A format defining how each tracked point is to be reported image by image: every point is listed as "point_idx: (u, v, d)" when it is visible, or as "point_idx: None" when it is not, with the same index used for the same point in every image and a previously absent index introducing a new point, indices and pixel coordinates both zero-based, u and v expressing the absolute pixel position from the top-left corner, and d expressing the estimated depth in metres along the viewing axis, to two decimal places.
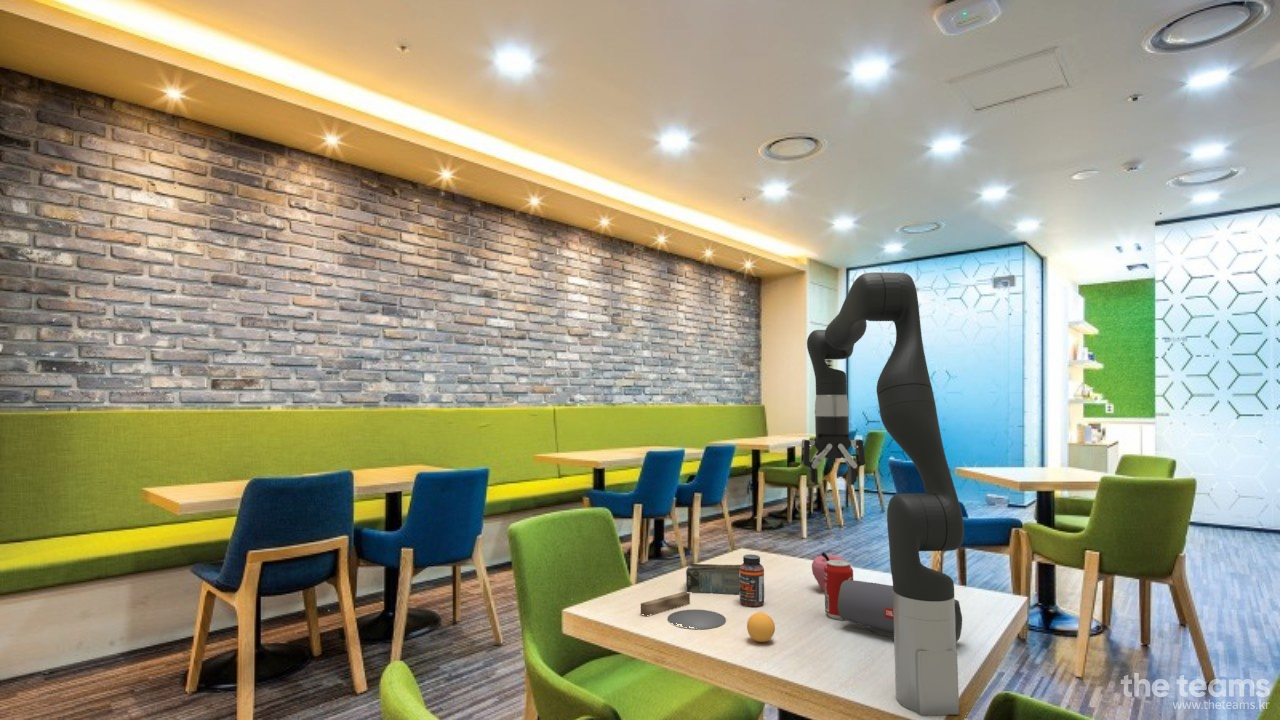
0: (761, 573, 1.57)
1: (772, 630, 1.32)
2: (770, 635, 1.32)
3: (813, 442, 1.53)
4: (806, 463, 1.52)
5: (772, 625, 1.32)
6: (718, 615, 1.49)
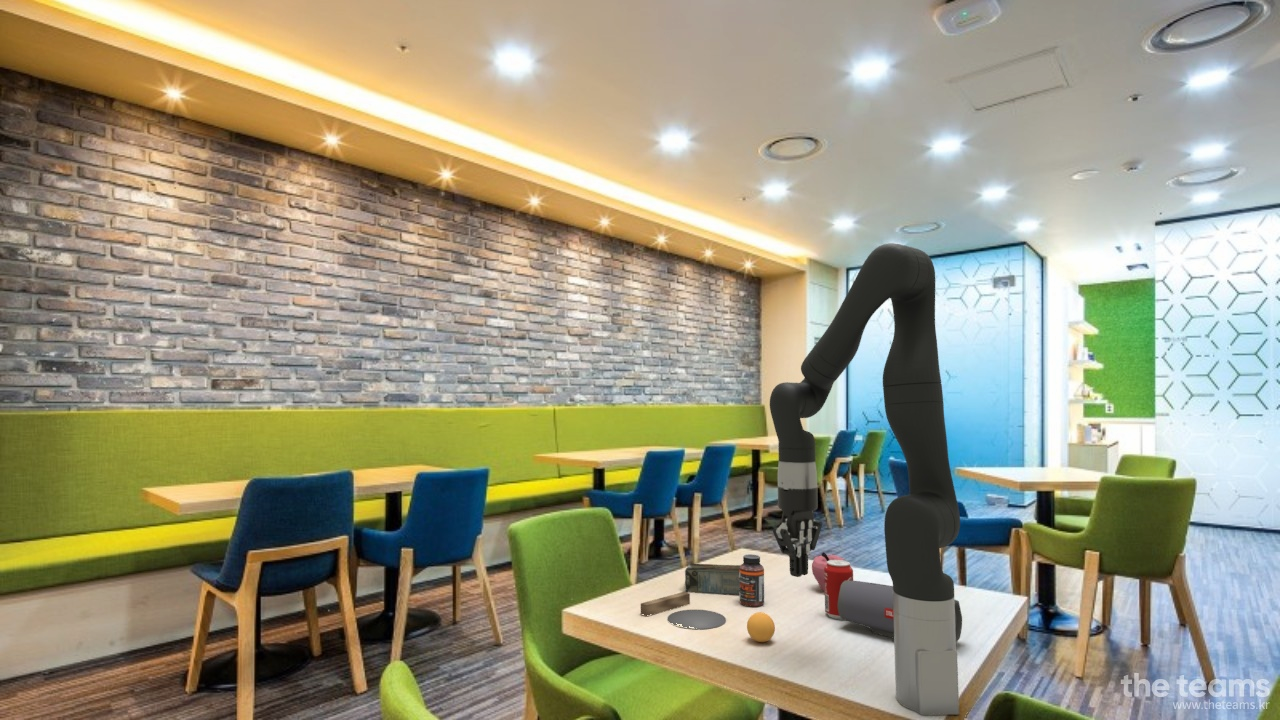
0: (761, 573, 1.57)
1: (772, 630, 1.32)
2: (770, 635, 1.32)
3: None
4: None
5: (772, 625, 1.32)
6: (718, 615, 1.49)
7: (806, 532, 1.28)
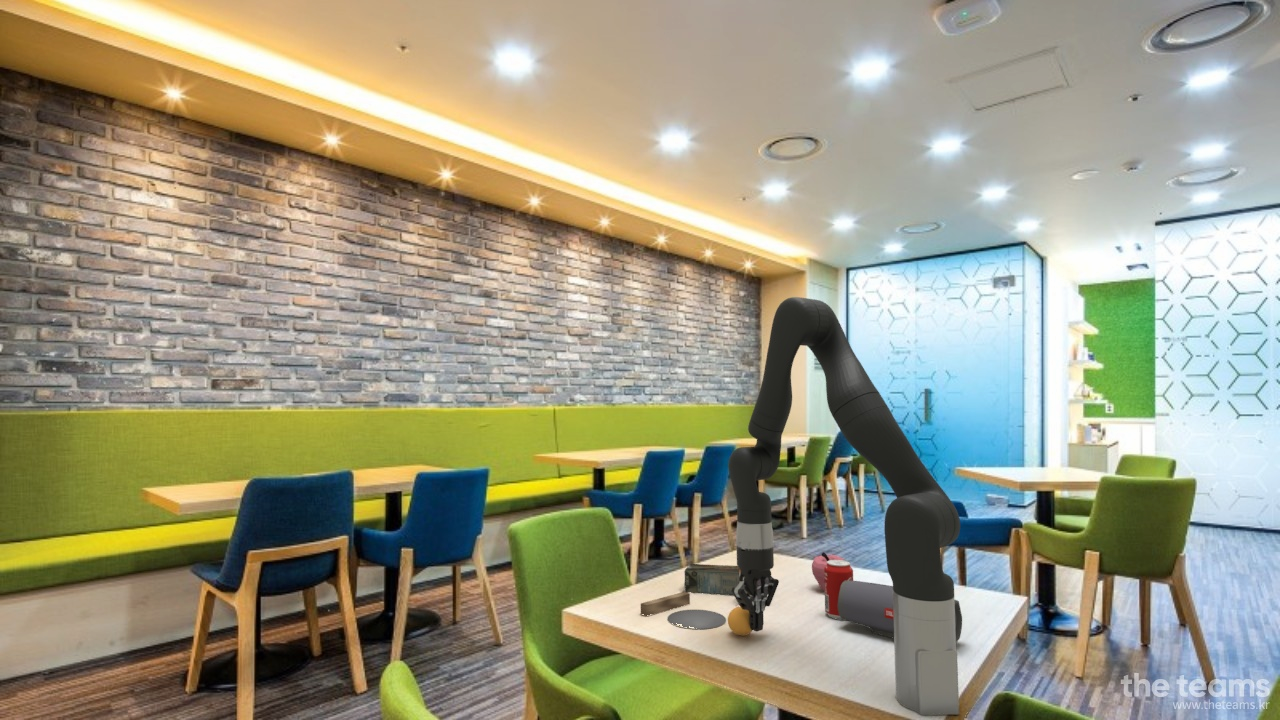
0: None
1: None
2: (746, 611, 1.36)
3: None
4: None
5: None
6: (718, 615, 1.49)
7: (762, 589, 1.35)
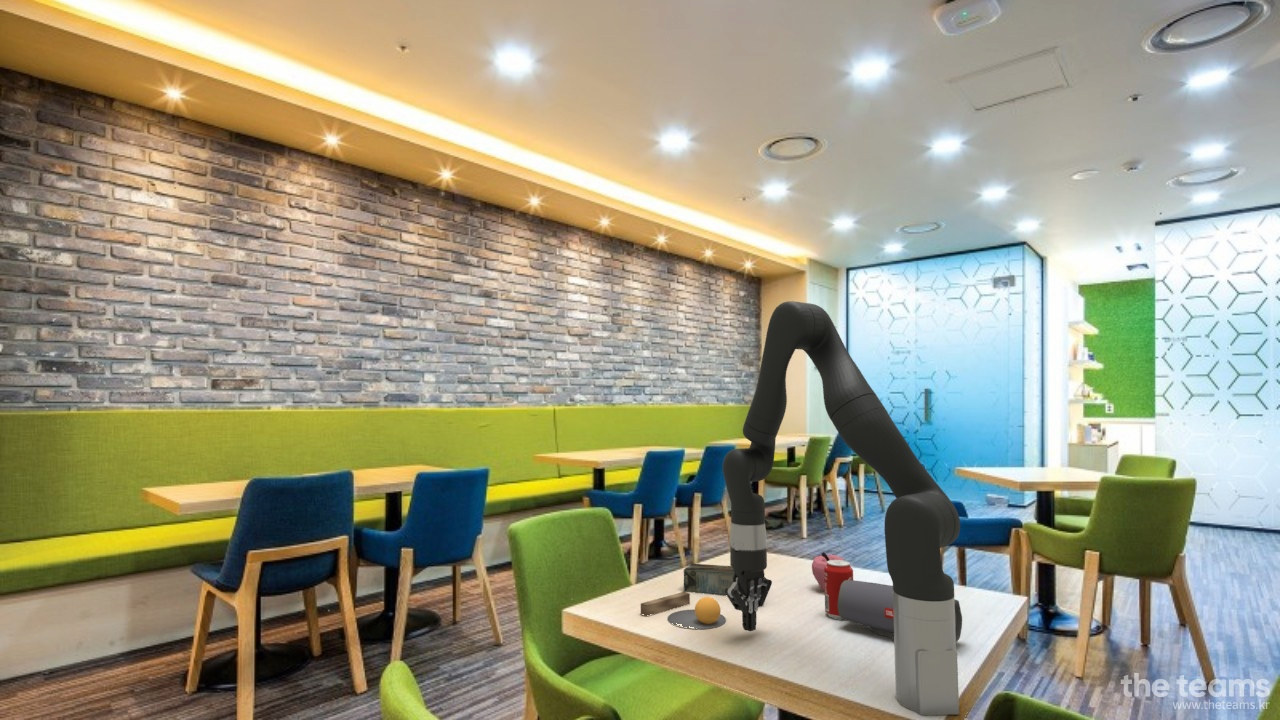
0: None
1: None
2: None
3: None
4: None
5: None
6: None
7: (755, 589, 1.36)
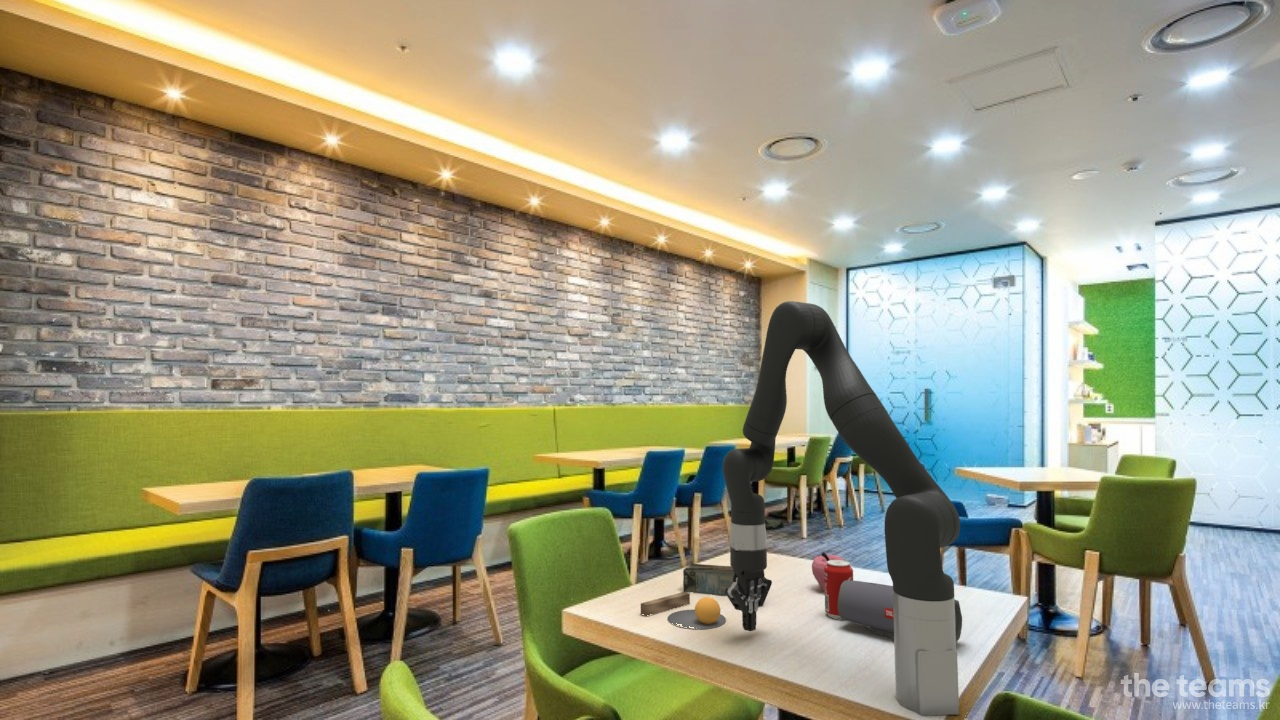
0: None
1: None
2: None
3: None
4: None
5: None
6: None
7: (755, 589, 1.36)
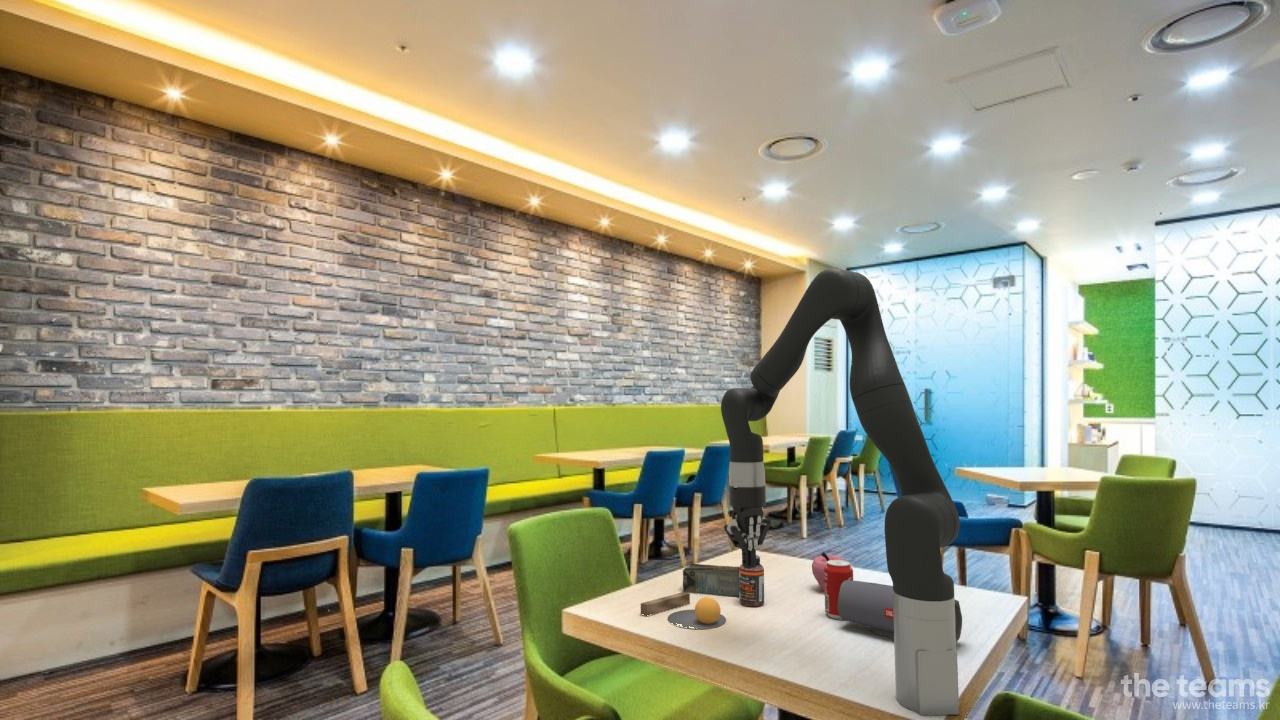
0: (761, 573, 1.57)
1: None
2: None
3: None
4: None
5: None
6: None
7: (754, 527, 1.37)
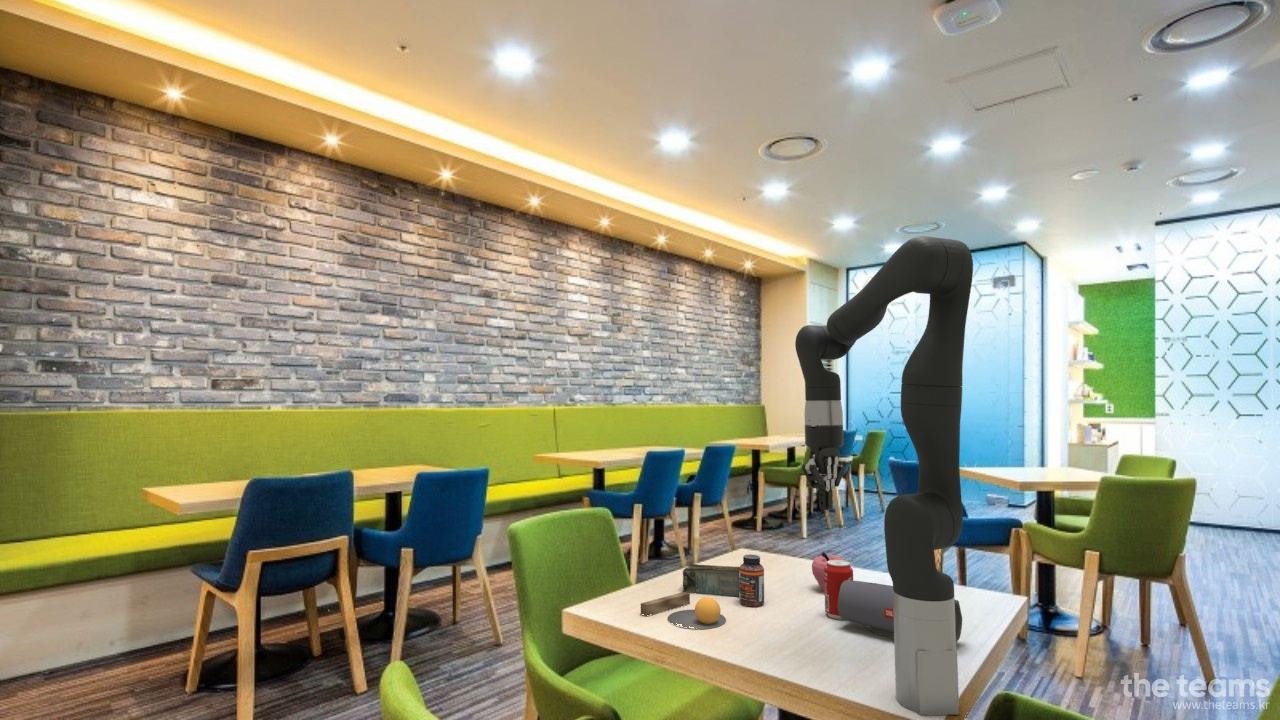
0: (761, 573, 1.57)
1: None
2: None
3: None
4: None
5: None
6: None
7: (831, 468, 1.33)
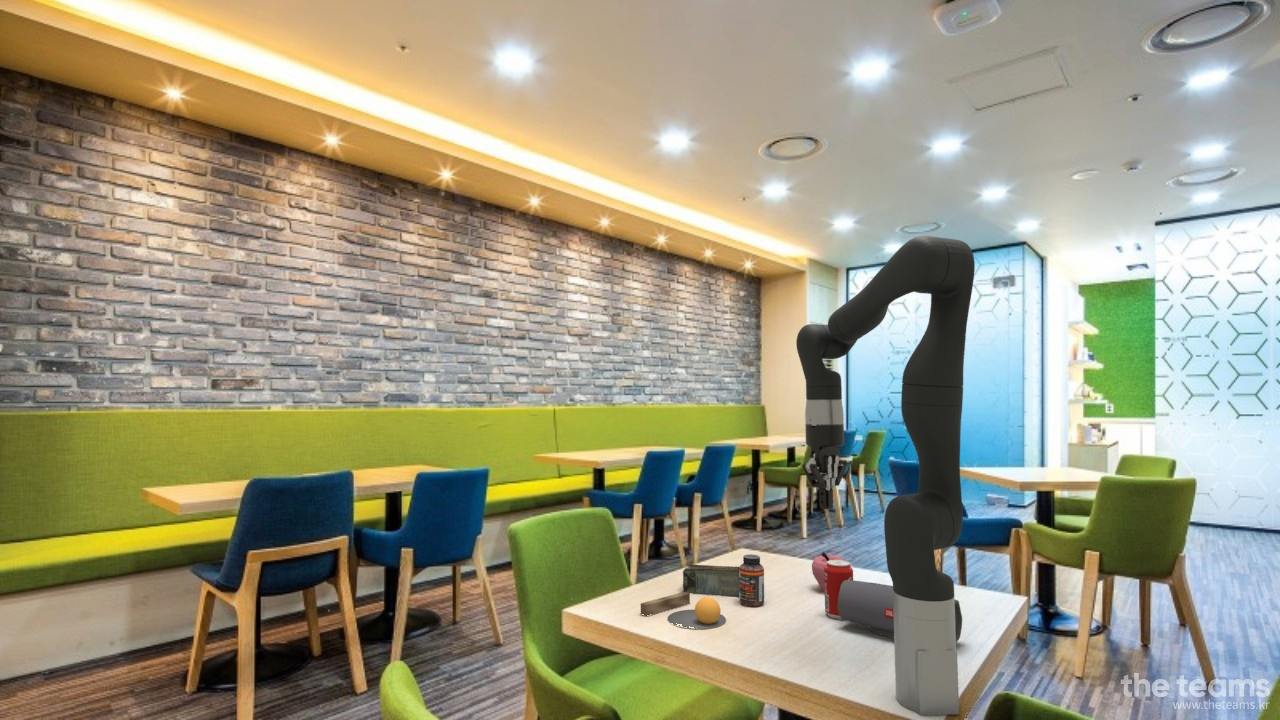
0: (761, 573, 1.57)
1: None
2: None
3: None
4: None
5: None
6: None
7: (832, 467, 1.33)
